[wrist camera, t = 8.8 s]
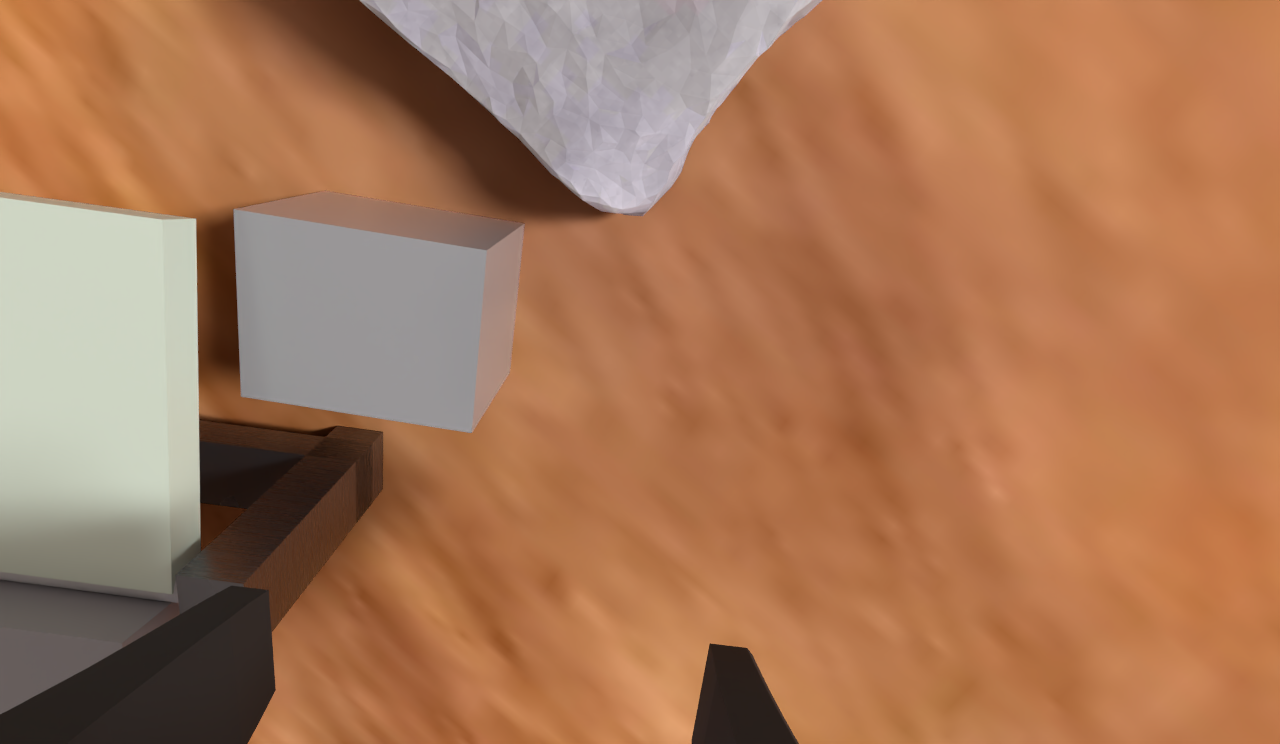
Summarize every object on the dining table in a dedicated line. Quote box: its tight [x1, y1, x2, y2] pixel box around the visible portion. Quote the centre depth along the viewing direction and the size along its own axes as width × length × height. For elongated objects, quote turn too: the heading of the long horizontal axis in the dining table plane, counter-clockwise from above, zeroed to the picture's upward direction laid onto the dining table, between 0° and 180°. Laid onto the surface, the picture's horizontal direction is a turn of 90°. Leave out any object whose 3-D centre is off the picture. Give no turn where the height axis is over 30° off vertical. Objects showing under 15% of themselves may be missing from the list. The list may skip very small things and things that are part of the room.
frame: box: [175, 420, 383, 632], centre depth 18 cm, size 2×14×8 cm, turn 83°
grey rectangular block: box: [233, 191, 525, 433], centre depth 18 cm, size 4×4×6 cm
